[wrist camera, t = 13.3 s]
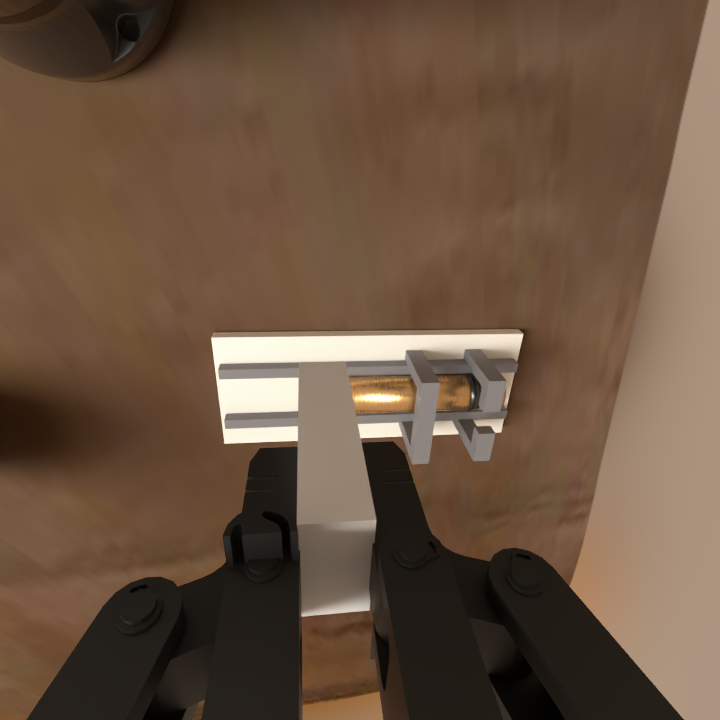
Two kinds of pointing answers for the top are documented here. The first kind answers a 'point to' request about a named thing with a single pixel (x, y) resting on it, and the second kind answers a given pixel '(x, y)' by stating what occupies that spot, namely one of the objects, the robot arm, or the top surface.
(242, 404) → the white grey flat rack
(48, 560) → the top surface
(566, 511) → the top surface
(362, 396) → the tube
